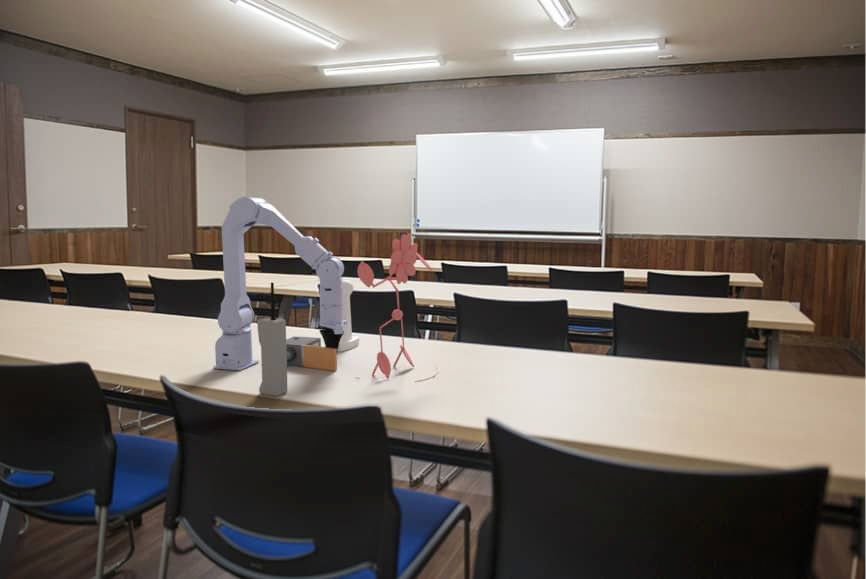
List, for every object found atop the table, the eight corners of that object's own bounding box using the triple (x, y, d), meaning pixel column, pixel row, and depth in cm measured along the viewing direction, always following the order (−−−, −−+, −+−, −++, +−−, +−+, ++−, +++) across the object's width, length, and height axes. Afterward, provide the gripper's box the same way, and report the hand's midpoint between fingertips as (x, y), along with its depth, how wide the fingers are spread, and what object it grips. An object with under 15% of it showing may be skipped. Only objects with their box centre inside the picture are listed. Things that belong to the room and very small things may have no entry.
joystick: (343, 352, 184) (342, 282, 182) (320, 349, 187) (319, 281, 184) (362, 344, 194) (361, 278, 192) (341, 342, 197) (340, 277, 195)
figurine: (348, 381, 153) (349, 234, 148) (408, 360, 175) (411, 231, 170) (401, 392, 145) (404, 237, 140) (457, 368, 167) (461, 233, 162)
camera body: (301, 367, 166) (301, 344, 166) (273, 365, 169) (273, 342, 168) (321, 357, 177) (320, 336, 176) (294, 355, 180) (294, 334, 179)
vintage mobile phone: (270, 389, 146) (267, 280, 143) (287, 392, 144) (284, 281, 141) (259, 393, 143) (255, 282, 140) (276, 397, 141) (273, 283, 138)
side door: (301, 366, 167) (300, 345, 166) (303, 365, 168) (302, 344, 167) (335, 370, 163) (334, 349, 162) (337, 370, 163) (336, 348, 163)
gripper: (354, 307, 159) (355, 361, 161) (338, 299, 172) (339, 349, 174) (326, 309, 156) (327, 364, 158) (312, 301, 170) (313, 351, 171)
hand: (332, 356), depth 166 cm, fingers closed
